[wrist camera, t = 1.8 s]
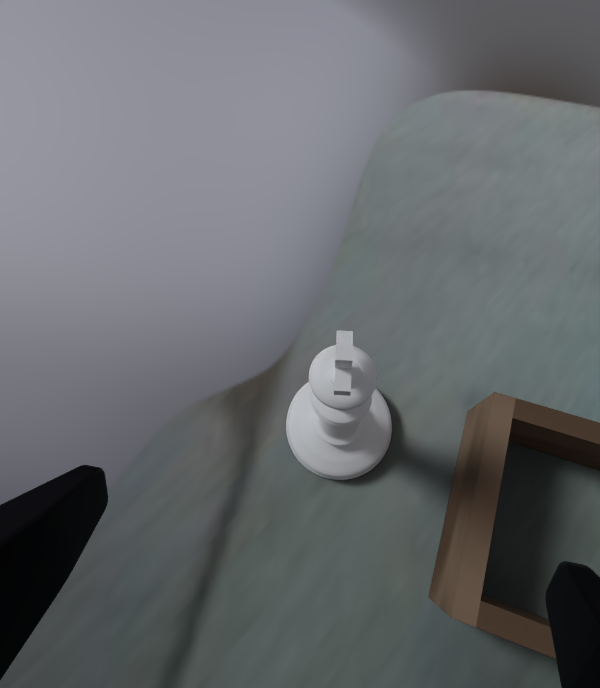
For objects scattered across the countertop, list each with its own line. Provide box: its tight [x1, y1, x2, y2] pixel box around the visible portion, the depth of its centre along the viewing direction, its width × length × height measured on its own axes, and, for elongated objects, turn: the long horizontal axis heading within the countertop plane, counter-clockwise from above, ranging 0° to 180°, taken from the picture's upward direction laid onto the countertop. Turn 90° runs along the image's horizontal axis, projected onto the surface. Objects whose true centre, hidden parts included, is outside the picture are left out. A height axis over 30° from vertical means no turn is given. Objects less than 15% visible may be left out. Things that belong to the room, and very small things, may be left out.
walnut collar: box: [429, 392, 600, 659], centre depth 16 cm, size 8×8×4 cm
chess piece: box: [286, 331, 392, 480], centre depth 15 cm, size 5×5×10 cm
